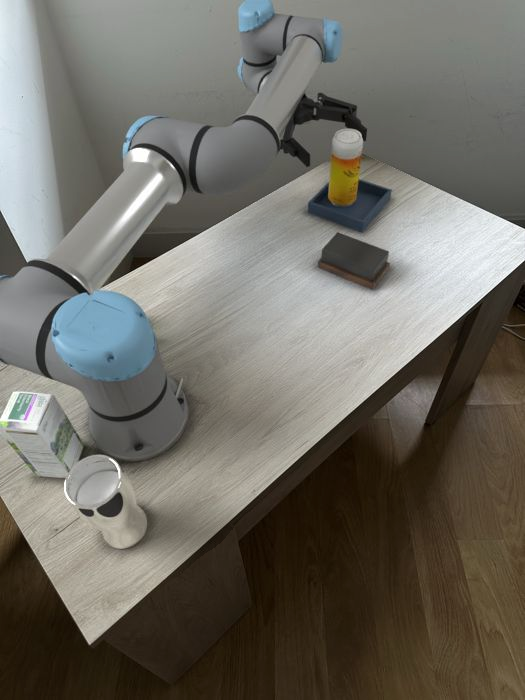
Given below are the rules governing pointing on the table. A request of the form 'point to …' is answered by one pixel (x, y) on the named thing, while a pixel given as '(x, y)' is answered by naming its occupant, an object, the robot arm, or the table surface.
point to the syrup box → (41, 434)
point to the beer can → (345, 167)
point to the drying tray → (352, 206)
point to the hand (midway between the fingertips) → (337, 148)
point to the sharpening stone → (354, 260)
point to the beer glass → (106, 500)
